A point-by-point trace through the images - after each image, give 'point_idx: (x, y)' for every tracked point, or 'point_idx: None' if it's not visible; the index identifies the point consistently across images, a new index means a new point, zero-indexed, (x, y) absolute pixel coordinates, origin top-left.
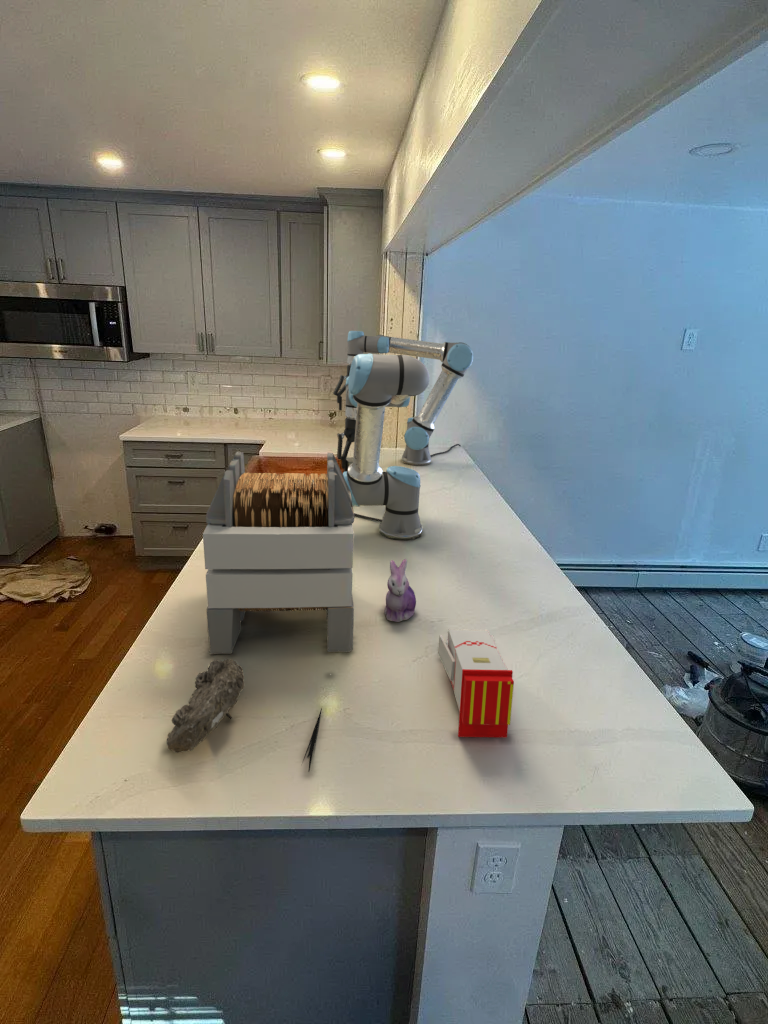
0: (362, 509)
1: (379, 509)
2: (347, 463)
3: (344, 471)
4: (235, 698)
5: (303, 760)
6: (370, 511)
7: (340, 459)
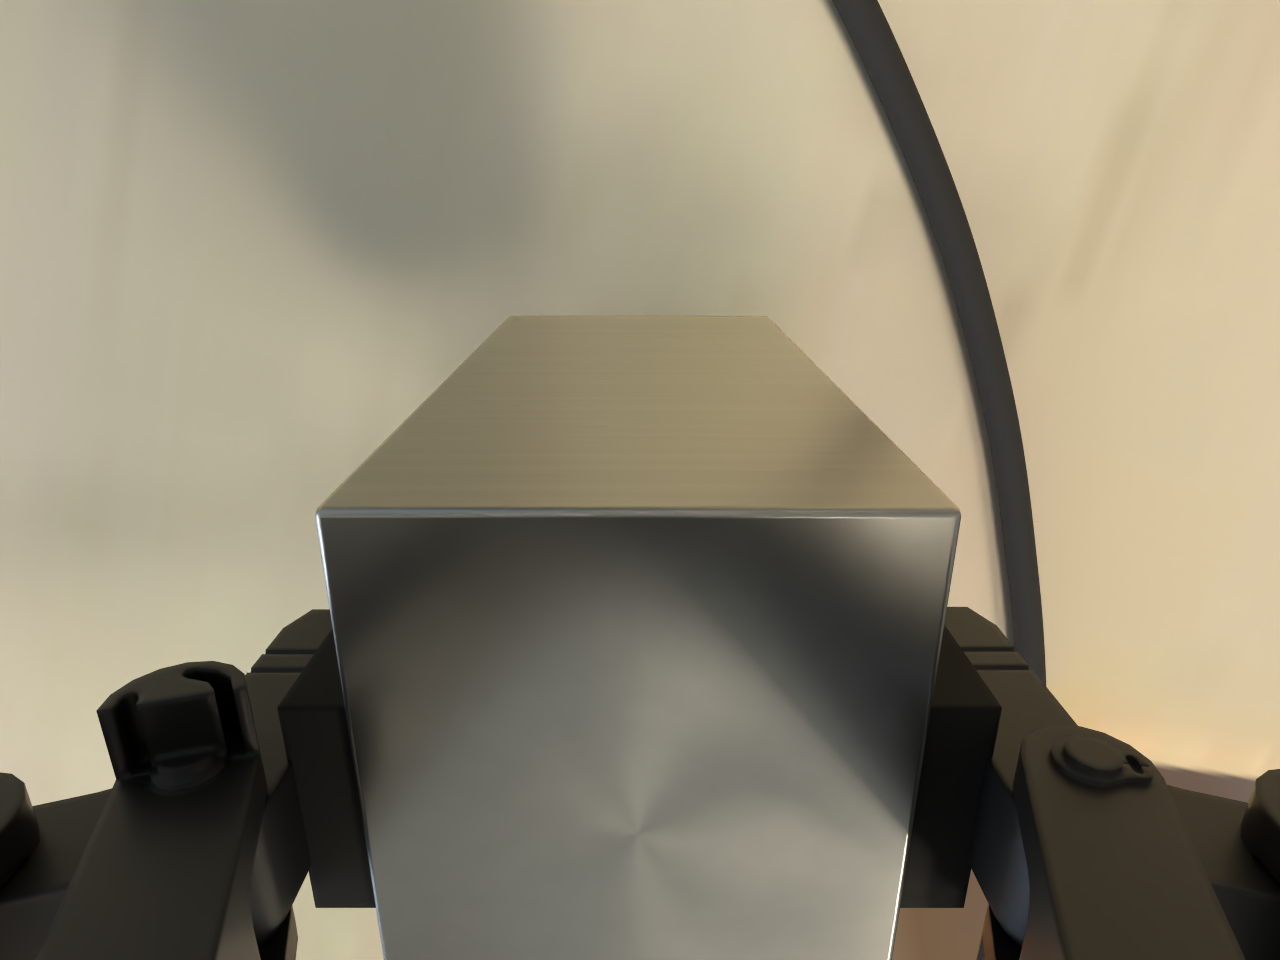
0: (572, 139)
1: (337, 93)
2: None
3: None
4: None
5: None
6: (479, 29)
7: (1223, 799)
